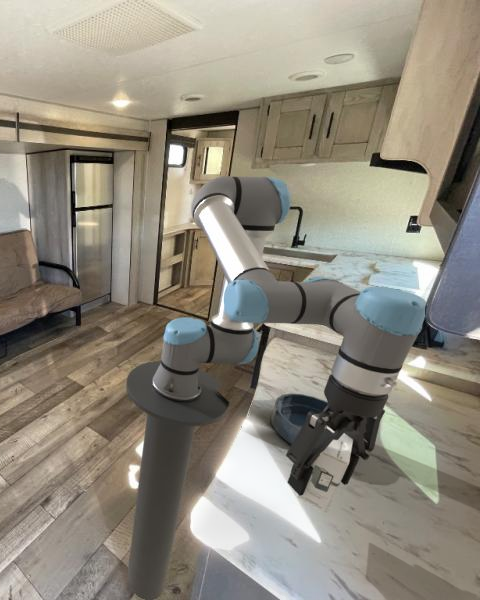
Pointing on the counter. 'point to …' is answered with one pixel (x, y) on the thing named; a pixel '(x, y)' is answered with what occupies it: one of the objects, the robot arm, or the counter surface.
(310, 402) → the bowl
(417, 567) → the counter surface
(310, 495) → the ink box
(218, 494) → the counter surface
